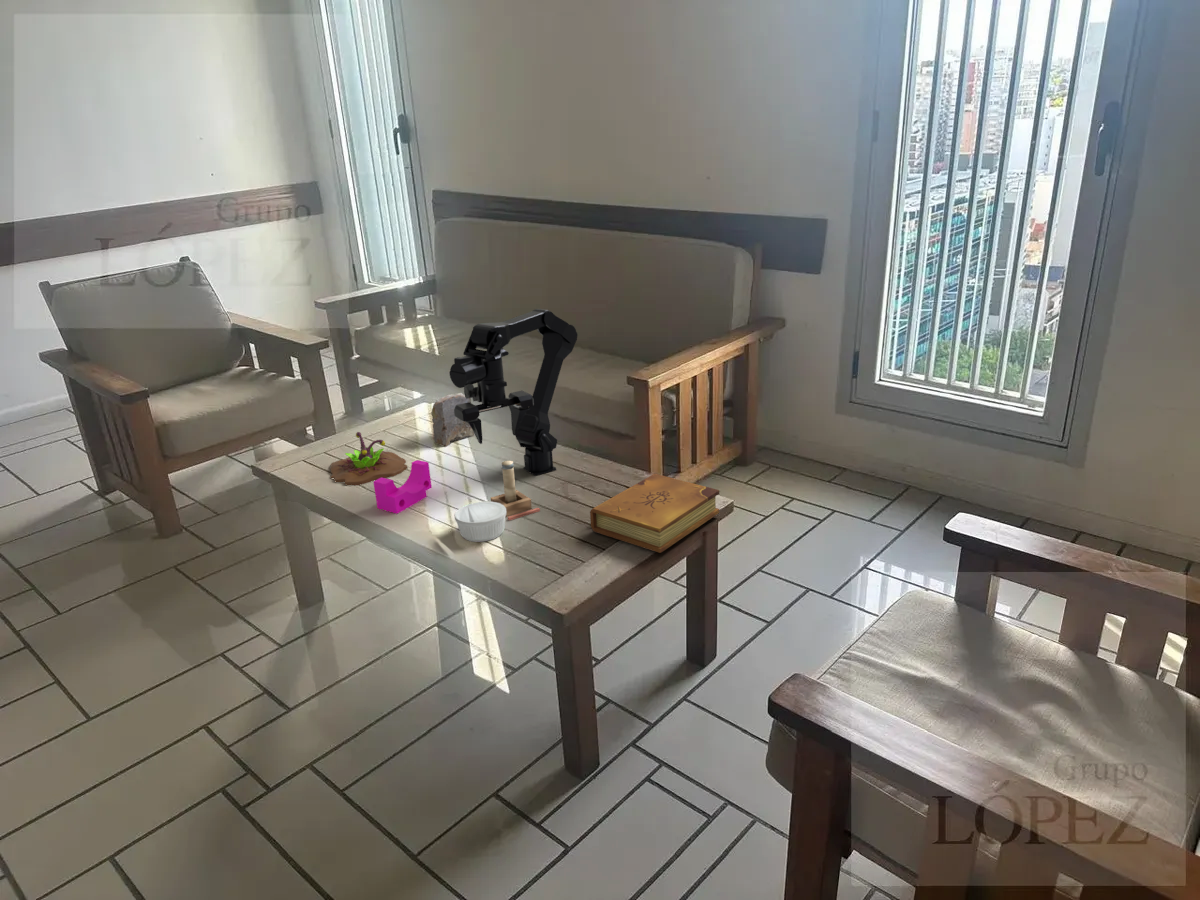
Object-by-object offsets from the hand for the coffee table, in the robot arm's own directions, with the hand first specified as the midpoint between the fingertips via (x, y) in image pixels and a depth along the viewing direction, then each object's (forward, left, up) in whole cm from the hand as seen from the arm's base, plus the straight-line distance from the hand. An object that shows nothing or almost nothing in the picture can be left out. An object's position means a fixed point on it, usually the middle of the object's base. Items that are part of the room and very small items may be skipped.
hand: (497, 439), depth 205 cm
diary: (-19, +39, -14) cm, 45 cm away
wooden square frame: (+4, +12, -13) cm, 18 cm away
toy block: (+21, -8, -13) cm, 26 cm away
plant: (+23, -33, -14) cm, 42 cm away
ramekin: (+15, +20, -13) cm, 28 cm away
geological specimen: (-4, -37, -13) cm, 39 cm away
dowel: (+4, +12, -13) cm, 18 cm away
